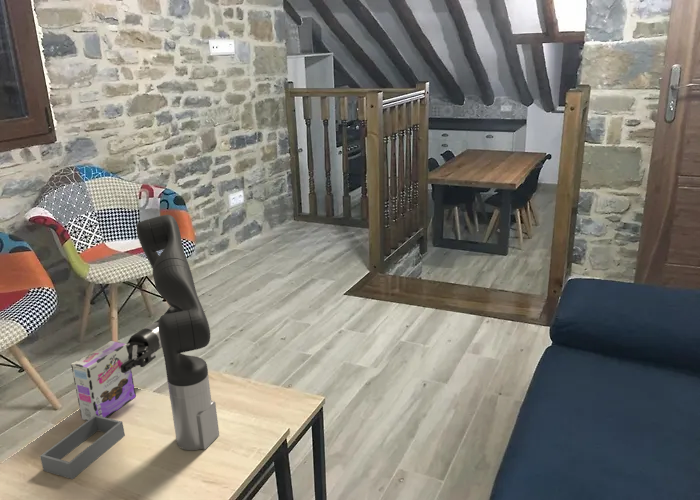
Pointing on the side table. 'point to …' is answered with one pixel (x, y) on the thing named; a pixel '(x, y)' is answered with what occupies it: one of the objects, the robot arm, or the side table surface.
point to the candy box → (103, 381)
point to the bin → (74, 439)
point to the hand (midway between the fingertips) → (109, 367)
